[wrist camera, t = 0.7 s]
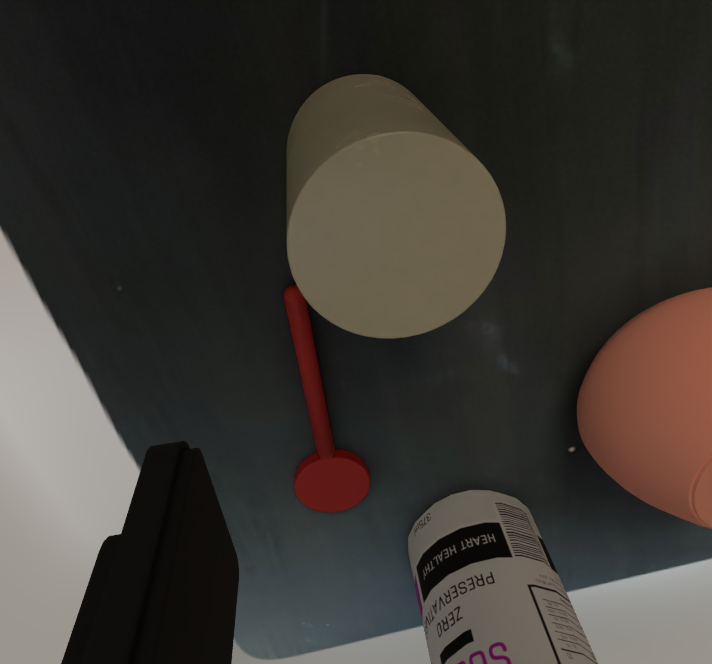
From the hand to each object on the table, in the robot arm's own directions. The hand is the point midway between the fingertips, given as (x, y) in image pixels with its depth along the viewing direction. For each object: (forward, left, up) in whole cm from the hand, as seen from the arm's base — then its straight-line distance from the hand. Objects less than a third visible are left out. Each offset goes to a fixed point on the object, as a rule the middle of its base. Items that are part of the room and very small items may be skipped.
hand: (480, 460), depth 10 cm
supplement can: (+25, +4, -19) cm, 31 cm away
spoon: (+13, -4, -19) cm, 23 cm away
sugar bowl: (+15, +16, -19) cm, 29 cm away
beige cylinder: (0, 0, -19) cm, 19 cm away
